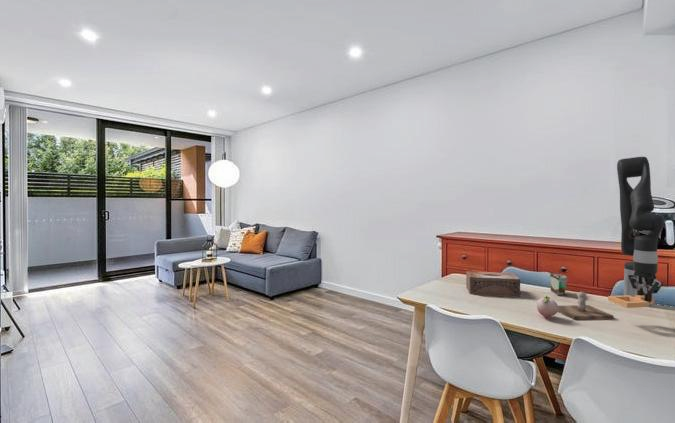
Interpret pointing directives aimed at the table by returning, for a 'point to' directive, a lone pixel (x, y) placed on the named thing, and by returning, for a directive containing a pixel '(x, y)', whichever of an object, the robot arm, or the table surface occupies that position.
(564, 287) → the food container
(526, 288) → the table surface
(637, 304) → the link
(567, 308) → the keeper
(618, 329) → the table surface
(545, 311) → the decorative fruit
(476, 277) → the tissue box cover
